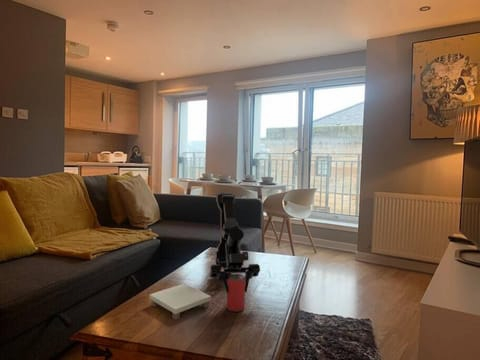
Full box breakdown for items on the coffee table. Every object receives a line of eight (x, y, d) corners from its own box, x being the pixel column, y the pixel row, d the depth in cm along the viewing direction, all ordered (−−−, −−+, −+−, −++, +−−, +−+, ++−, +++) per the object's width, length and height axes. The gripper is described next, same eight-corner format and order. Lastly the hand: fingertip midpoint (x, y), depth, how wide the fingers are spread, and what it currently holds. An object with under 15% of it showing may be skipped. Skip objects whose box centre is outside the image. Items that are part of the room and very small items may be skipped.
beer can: (242, 313, 118) (243, 280, 117) (224, 311, 119) (225, 278, 118) (245, 305, 124) (247, 274, 124) (228, 303, 126) (230, 272, 125)
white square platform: (149, 304, 121) (149, 294, 121) (184, 293, 133) (184, 283, 133) (175, 320, 111) (175, 309, 110) (210, 306, 122) (211, 296, 122)
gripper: (211, 243, 122) (213, 283, 112) (260, 243, 126) (266, 282, 116) (208, 257, 131) (210, 296, 121) (254, 257, 134) (259, 294, 124)
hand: (236, 292), depth 120 cm, fingers closed on beer can, 7 cm apart
